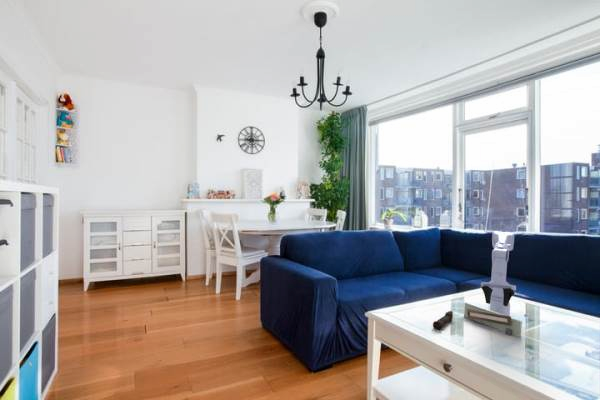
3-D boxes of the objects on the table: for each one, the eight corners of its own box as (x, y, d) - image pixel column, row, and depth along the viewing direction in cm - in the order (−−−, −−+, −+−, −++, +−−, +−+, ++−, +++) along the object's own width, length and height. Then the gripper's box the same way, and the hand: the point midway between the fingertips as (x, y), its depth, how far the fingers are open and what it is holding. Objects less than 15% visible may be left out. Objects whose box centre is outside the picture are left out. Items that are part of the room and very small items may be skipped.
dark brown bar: (441, 332, 147) (441, 321, 147) (432, 328, 150) (433, 318, 150) (457, 321, 161) (458, 312, 160) (449, 318, 163) (449, 309, 163)
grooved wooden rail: (469, 317, 163) (468, 309, 164) (511, 325, 146) (510, 316, 147) (468, 317, 163) (467, 309, 163) (510, 325, 146) (509, 316, 146)
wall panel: (465, 315, 167) (466, 302, 167) (520, 336, 145) (521, 320, 145) (460, 316, 166) (461, 303, 165) (516, 338, 143) (517, 322, 143)
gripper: (478, 271, 156) (475, 300, 153) (510, 273, 144) (508, 305, 140) (486, 275, 160) (484, 303, 156) (519, 277, 147) (517, 308, 144)
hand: (496, 304), depth 148 cm, fingers open, 7 cm apart
